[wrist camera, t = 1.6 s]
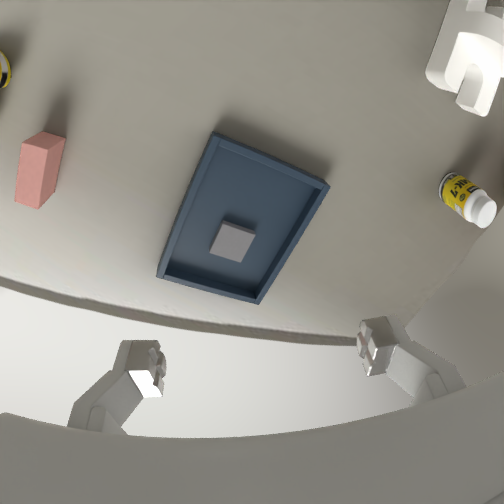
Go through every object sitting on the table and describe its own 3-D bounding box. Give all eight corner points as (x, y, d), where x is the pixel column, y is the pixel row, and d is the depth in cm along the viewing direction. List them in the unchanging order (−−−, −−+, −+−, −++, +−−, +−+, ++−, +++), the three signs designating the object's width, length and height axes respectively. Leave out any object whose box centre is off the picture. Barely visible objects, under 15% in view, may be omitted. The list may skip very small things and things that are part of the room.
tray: (157, 267, 37) (155, 277, 35) (212, 130, 29) (213, 134, 28) (256, 295, 42) (258, 305, 40) (324, 180, 34) (330, 186, 33)
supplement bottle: (455, 165, 35) (495, 190, 28) (463, 188, 38) (501, 215, 31) (433, 185, 37) (473, 214, 30) (443, 207, 39) (479, 237, 32)
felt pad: (208, 248, 36) (209, 253, 35) (222, 219, 34) (222, 223, 34) (239, 258, 38) (240, 262, 37) (254, 230, 36) (255, 235, 35)
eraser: (32, 184, 28) (14, 201, 24) (42, 131, 25) (22, 141, 22) (54, 192, 29) (38, 210, 26) (66, 138, 26) (48, 149, 23)
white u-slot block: (422, 75, 28) (484, 90, 20) (457, -24, 20) (513, -27, 11) (467, 113, 31) (522, 135, 23) (498, 19, 23) (550, 26, 14)
